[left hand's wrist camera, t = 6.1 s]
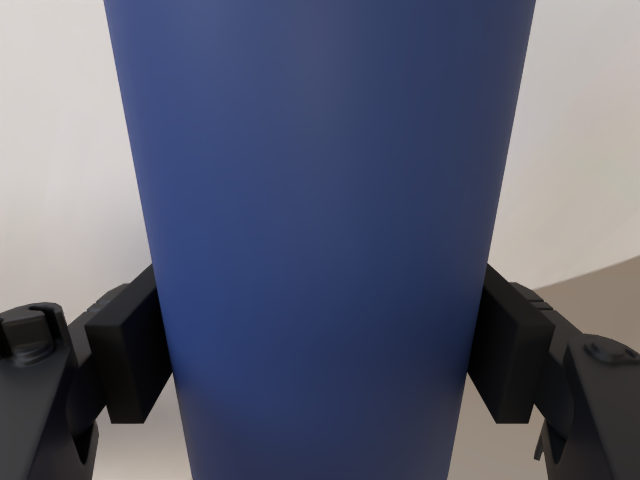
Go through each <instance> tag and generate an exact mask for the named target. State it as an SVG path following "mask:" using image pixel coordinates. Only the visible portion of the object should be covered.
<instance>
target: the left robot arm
mask: <svg viewBox="0 0 640 480" xmlns="http://www.w3.org/2000/svg"><path fill="white" fill-rule="evenodd" d="M467 372H468V374H469V376H470V378H471V379H472V381H473V383H474V385H475V387H476V388H477V390H478V392H479V394H480V396H481V397H482V399H483V401H484V403H485V404H486V406H487V408H488V410H489V412H490V413H491V415H492V417H493V419H494V420H495V422H496V423H497V424H528V423H529V419H530V416H531V412H532V409H533V405H534V404H535V405H536V407H537V408H538V409H539V411H540V412H541V414H542V415H543V416H544V418H545V420H544V423H543V426H542V430H541V433H540V436H539V440H538V443H537V446H536V450H535V454H534V459H536V460H540V457H541V454H542V452H544V455H545V462H546V468H547V474H548V480H640V354H639V353H637V352H636V351H634V350H633V349H631V348H629V347H628V346H626V345H624V344H622V343H619V342H617V341H615V340H613V339H609V338H606V337H602V336H599V335H592V334H583V333H582V332H581V331H579V330H578V329H577V328H576V327H575V326H574V325H572V324H571V323H570V322H569V321H568V320H566V319H565V318H564V317H563V316H562V315H561V314H559V313H558V312H557V311H556V310H553V308H552V307H551V306H550V305H549V304H548V303H546V302H544V300H543V299H542V298H540V297H539V296H538V295H537V294H536V293H535V292H533V291H532V290H530V289H528V288H526V287H524V286H522V285H520V284H518V283H516V282H508V281H507V280H505V279H504V278H503V277H502V276H501V275H500V274H499V273H498V272H497V271H496V270H494V269H493V268H492V267H491V266H490V265H489V264H488V263H487V267H486V272H485V278H484V283H483V288H482V294H481V299H480V305H479V310H478V315H477V321H476V326H475V332H474V337H473V342H472V348H471V353H470V359H469V364H468V369H467ZM171 374H172V366H171V361H170V355H169V350H168V345H167V339H166V334H165V329H164V323H163V318H162V312H161V307H160V302H159V296H158V291H157V285H156V280H155V275H154V269H153V264H151V265H150V266H149V267H147V268H146V269H145V270H144V271H143V272H142V273H141V274H140V275H139V276H138V277H136V278H135V279H134V280H133V281H132V282H131V283H130V284H122V285H120V286H118V287H116V288H114V289H112V290H110V291H108V292H107V293H106V294H105V295H103V296H102V297H101V298H100V299H99V300H98V301H96V303H94V304H93V305H92V306H91V307H89V308H88V309H87V312H83V313H82V314H81V315H80V316H79V317H78V318H76V319H75V320H74V321H73V322H72V323H71V324H69V325H68V326H67V323H66V320H65V317H64V313H63V310H62V307H61V306H60V305H58V304H56V303H49V302H43V303H33V304H28V305H24V306H20V307H16V308H13V309H11V310H8V311H5V312H3V313H0V480H92V475H93V469H94V463H95V456H96V450H97V444H98V438H99V432H98V426H97V423H96V420H95V419H96V418H97V417H98V415H99V414H100V412H101V411H102V410H103V408H104V407H105V406H107V410H108V413H109V417H110V420H111V424H144V422H145V420H146V418H147V416H148V415H149V413H150V411H151V409H152V408H153V406H154V404H155V402H156V400H157V399H158V397H159V395H160V393H161V392H162V390H163V388H164V386H165V384H166V383H167V381H168V379H169V377H170V376H171Z"/></svg>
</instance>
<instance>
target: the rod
mask: <svg viewBox="0 0 640 480" xmlns="http://www.w3.org/2000/svg"><path fill="white" fill-rule="evenodd" d="M535 2H536V0H104V6H105V11H106V16H107V22H108V27H109V33H110V38H111V43H112V49H113V54H114V59H115V65H116V70H117V76H118V81H119V86H120V92H121V97H122V102H123V108H124V113H125V119H126V124H127V129H128V135H129V140H130V146H131V151H132V156H133V162H134V167H135V172H136V178H137V183H138V189H139V194H140V199H141V205H142V210H143V216H144V221H145V226H146V232H147V237H148V242H149V248H150V253H151V259H152V264H153V269H154V275H155V280H156V285H157V291H158V296H159V302H160V307H161V312H162V318H163V323H164V329H165V334H166V339H167V345H168V350H169V355H170V361H171V366H172V372H173V377H174V382H175V388H176V393H177V398H178V404H179V409H180V415H181V420H182V425H183V431H184V436H185V442H186V447H187V452H188V458H189V463H190V468H191V474H192V478H193V480H447V477H448V472H449V467H450V461H451V456H452V450H453V445H454V439H455V434H456V429H457V423H458V418H459V413H460V407H461V402H462V396H463V391H464V386H465V380H466V375H467V369H468V364H469V359H470V353H471V348H472V342H473V337H474V332H475V326H476V321H477V315H478V310H479V305H480V299H481V294H482V288H483V283H484V278H485V272H486V267H487V261H488V256H489V251H490V245H491V240H492V234H493V229H494V224H495V218H496V213H497V207H498V202H499V197H500V191H501V186H502V180H503V175H504V170H505V164H506V159H507V153H508V148H509V143H510V137H511V132H512V127H513V121H514V116H515V110H516V105H517V100H518V94H519V89H520V83H521V78H522V73H523V67H524V62H525V56H526V51H527V46H528V40H529V35H530V29H531V24H532V19H533V13H534V8H535Z"/></svg>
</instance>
